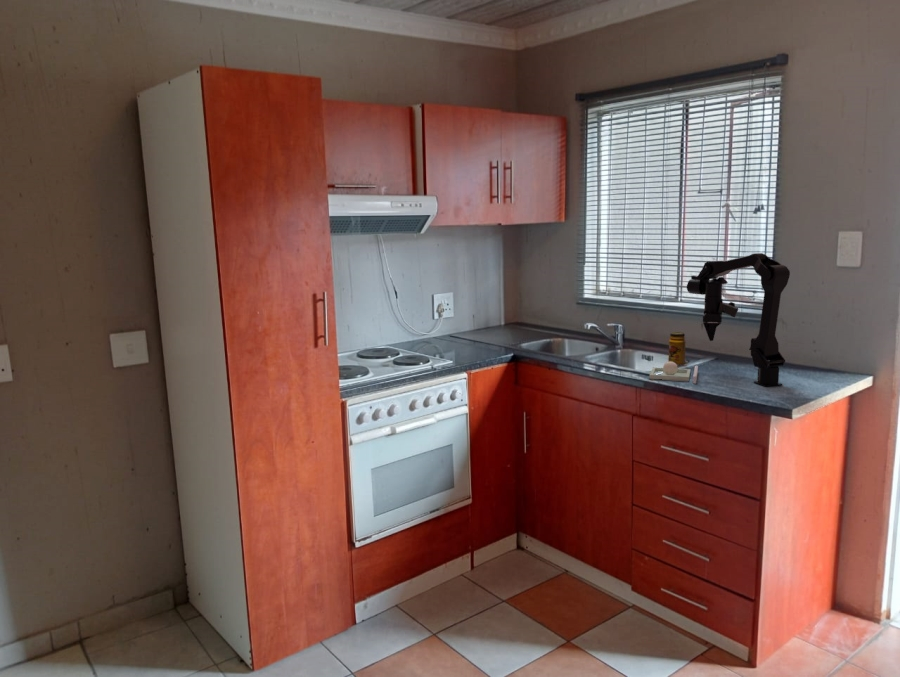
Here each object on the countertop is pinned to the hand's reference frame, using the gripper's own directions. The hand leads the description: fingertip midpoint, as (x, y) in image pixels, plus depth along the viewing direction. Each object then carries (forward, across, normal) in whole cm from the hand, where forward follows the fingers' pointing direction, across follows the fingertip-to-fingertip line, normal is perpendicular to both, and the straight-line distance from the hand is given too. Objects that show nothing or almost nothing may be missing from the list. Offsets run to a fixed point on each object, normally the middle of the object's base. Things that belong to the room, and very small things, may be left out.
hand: (711, 338), depth 248 cm
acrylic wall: (+12, -13, +5) cm, 18 cm away
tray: (+12, -13, +13) cm, 22 cm away
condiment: (+12, +11, +12) cm, 21 cm away
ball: (+9, -13, +13) cm, 21 cm away
